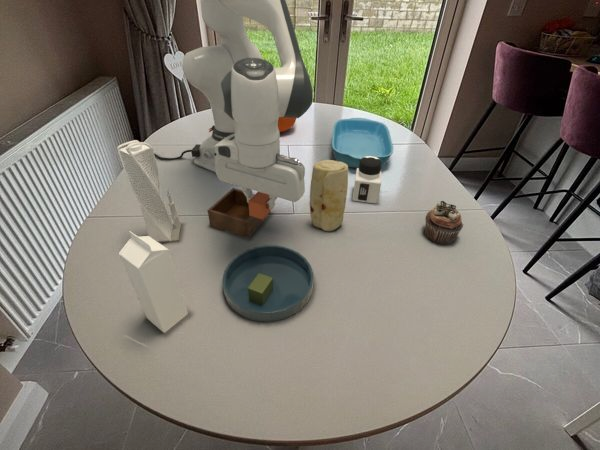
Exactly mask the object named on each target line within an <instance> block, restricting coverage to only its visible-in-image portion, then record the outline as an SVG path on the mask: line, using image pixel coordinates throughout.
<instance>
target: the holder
mask: <svg viewBox="0 0 600 450" xmlns="http://www.w3.org/2000/svg"><path fill="white" fill-rule="evenodd" d="M270 215H272V210H271V211H270V212H269V213H268V214H267V215H266V216H265V218H264V219H263V220H262V219H259V218H256V217H253V216H250V215H249V204H248V203H247V197H246V196H245V194H244V193H243V191H242V190H241V189H238V188H234V187H232V188H231V189H230V190H229V191H227V193H225V194H224V195H223V196H222V197H221V198H220V199H218V200H217V201H216V202H215V203H214V204H213V205H212V206H211V207H209V208H208V209H207V217H208V222H209V227H211V228H214V229H217V230H220V231H223V232H226V231H227V232H230V233H232V234H233V233H234V234H236V235H239V236H243V237H245V238H250V237H251V236H252V235H253V233H254V232H255V231H256V230H257V229H258V228H259V227H260V226H261V224H262V223H264V221H265V220H266V219H267V218H268V216H270Z"/></svg>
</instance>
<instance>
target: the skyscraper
mask: <svg viewBox="0 0 600 450" xmlns="http://www.w3.org/2000/svg"><path fill="white" fill-rule="evenodd" d="M116 150H117V152H118V156H119V159H120V163H121V165H122V169H123V171H124V174H125V177H126V179H127V181H128V184H129V187H130V188H131V190H132V193H133V195H134V196H135V198H136V200H137V201H138V203H139V205H140V206H139V207H140V210H141V214H142V217H143V218H142V219H143V222H144V225H145V228H146V232H147V236H149V237H151V238H152V239H154V240H155V241H157V242H158V243H160V244H162V243H174V242H179V241H180V234H181V229H182V223H181V222H180V220H179V214H178V213H177V209H176V207H175V201H173V199H172V196H171V193H170V191H169V188H166V192H167V197H168V203H167V204H168V207H169V210H168V208H167V206H166V203H165V201H164V199H163V197H162V195H161V192H160V175H159V169H158V164H157V163H158V162H157V160H156V156H155V155H154V153H155V152H154V148H153V146H152V145H151V144H149V143H147V142H144V141H139V140H137V139H134V140H130V141H126V142H124V143H121V144H119V145H118V146H117V147H116ZM169 211H170V213H169ZM170 214H171V215H170Z"/></svg>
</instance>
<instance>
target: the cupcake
mask: <svg viewBox="0 0 600 450" xmlns="http://www.w3.org/2000/svg"><path fill="white" fill-rule="evenodd" d="M462 219H463V218H462V215H461V213H460V211H459V209H458V208H457V206H456V205H455V204H451V203H450V204H449V203H447V202H446V201H445V200H440V201H437V202H436V204H435V206H434V207H432V209H430V210H429V211H428V212H427V213H426V215H425V229H424V234H425V236H426V238H427V239H429V240H430V241H432V242H433V243H437V244H440V245H448V244H451V243H452V242H454V241H455V240H456V238H457V236H458V235H459V234H460V233H461V231H462V229H463V228H464V222H463V220H462Z"/></svg>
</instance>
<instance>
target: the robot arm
mask: <svg viewBox="0 0 600 450" xmlns="http://www.w3.org/2000/svg"><path fill="white" fill-rule="evenodd" d="M200 6H201V7H200V10H201V17H202V20H203V22H204V24H205V25H206V26H207V27H208V28H209V29H210V30H211V31H213V32H215V33H217V34H218V35H219V38H220V44H217V45H208V46H200V47H198V48H195V49H192V50H191V51H188V52H186V53H185V55H184V56H183V59H182V73H183V75H184V77H185V79H186V81H187V82H188V83H189V84H190V85H191V86H192V87H194V88H195V89H197V90H198V91H200V92H201V93H202V94H203V95H204V96H205V98H206V99H207V101H208V102H209V105H210V108H211V114H212V117H213V122H214V124H213V125H212V126H211V127H210V128H208V133H211V135H210V136H209V137H207V138H206V139H205V140H204V141H202V142H201V144H197V143H196V144H195V145H194V146H193V147H192V149H186V150H184V151H182V152H181V154H180V155H179V156H176V157H162V156H159V155H158V154H156V153H155V152H154V155H155V158H157V159H159V160H163V161H164V160H165V161H174V160H175V161H176V160H180V159H182V158H183V157H184V155H186V153H191V157H192V158H194V159H193V164H194V165H196V166H199V167H201V168H204V169H206V170H208V171H211V172H213V173H215V174H216V177H217V178H218V180H219V181H220V182H225V183H228V184H230V185H234V186H237V187H240V190H242V191H243V193H244V194H245V196H246V197H247V203H248V201H249V200H250V199H251V198H252V197H253V196H254V195H255V194H256V193H254V192H261V193H265V194H268V195H269V198H272V199H269V200H268V201H267V202H266V208H267V209H270V210H271V211H273V210H274V208H275V206H276V201H277V199H282V200H285V201H289V202H292V203H297V202H299V200H301V199H302V197H303V196H304V195H305V191H306V186H305V184H306V183H305V176H306V167H305V165H304V164H303V163H302V162H301V161H300V160H299V158H296V157H291V156H287V155H285V154H281V137H280V136H281V132H279V130H278V118H279V117H283V118H296V119H299V118H301V117H302V116H303V115H305V114H306V113H307V112H308V110H309V109H310V107H312V105H313V97H314V95H313V94H314V93H313V92H314V91H313V90H314V89H313V85H312V81H311V77H310V75H309V73H308V69H307V68H306V65H305V63H304V60H303V56H302V52H301V49H300V45H299V42H298V39H297V35H296V31H295V27H294V23H293V21H292V18H291V13H290V10H289V7H288V4H287V0H200ZM244 17H245V18H247V19H250V20H253V21H254V22H257V23H259V24H261V25H262V26H263V27H265V28H266V29H267V30H268V31H269V32H270V33H271V35H272V37H273V41H274V44H275V48H276V51H277V55H278V58H279V61H280V65H281V67H275V66H274V65H273V64H272V62H270V61H268V60H266V59H264V58H263V56H262V53H261V51H260V49H259V48H258V47H257V45H255V44H254V43H253V42H252V41H251V39H250V38H249V36H248V33H247V31H246V26H245V22H244ZM253 191H254V192H253Z"/></svg>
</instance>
